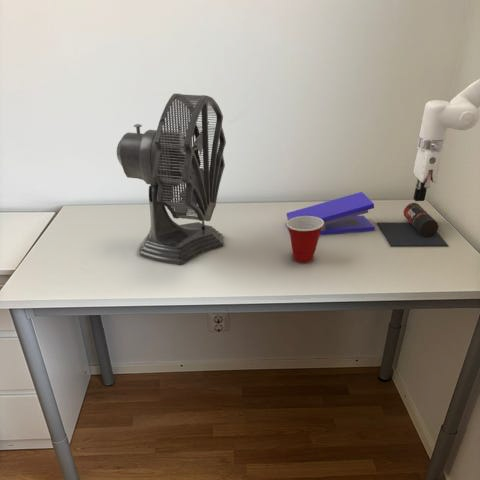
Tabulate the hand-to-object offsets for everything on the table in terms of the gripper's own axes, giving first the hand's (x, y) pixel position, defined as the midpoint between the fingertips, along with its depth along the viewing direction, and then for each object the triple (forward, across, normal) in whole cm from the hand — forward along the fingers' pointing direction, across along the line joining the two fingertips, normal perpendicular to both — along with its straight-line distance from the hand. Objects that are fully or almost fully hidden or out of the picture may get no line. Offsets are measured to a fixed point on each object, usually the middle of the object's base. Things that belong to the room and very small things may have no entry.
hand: (418, 200), depth 170 cm
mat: (+9, -7, +3) cm, 12 cm away
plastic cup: (+9, -24, +41) cm, 49 cm away
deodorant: (+6, +5, 0) cm, 8 cm away
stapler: (+9, -1, +29) cm, 30 cm away
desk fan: (+9, -18, +80) cm, 82 cm away
